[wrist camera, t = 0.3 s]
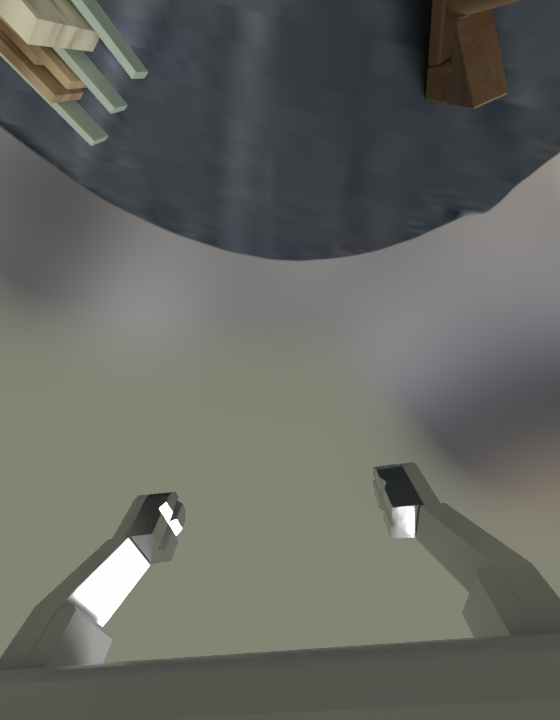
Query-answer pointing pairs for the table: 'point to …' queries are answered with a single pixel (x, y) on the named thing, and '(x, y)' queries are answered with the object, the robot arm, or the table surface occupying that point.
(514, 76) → the table surface
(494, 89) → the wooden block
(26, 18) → the beige brown rectangular slab
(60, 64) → the offcut stack
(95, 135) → the rack
